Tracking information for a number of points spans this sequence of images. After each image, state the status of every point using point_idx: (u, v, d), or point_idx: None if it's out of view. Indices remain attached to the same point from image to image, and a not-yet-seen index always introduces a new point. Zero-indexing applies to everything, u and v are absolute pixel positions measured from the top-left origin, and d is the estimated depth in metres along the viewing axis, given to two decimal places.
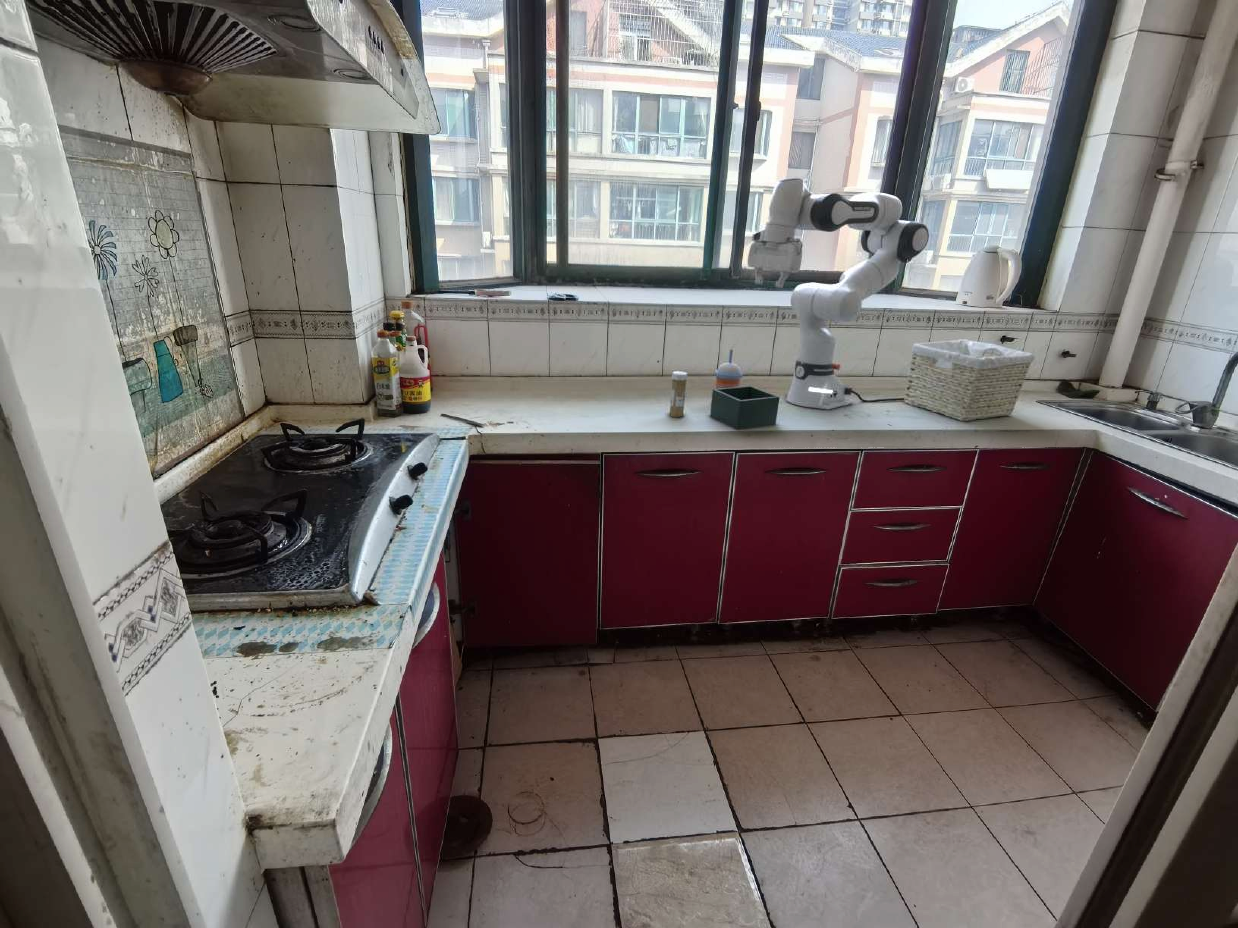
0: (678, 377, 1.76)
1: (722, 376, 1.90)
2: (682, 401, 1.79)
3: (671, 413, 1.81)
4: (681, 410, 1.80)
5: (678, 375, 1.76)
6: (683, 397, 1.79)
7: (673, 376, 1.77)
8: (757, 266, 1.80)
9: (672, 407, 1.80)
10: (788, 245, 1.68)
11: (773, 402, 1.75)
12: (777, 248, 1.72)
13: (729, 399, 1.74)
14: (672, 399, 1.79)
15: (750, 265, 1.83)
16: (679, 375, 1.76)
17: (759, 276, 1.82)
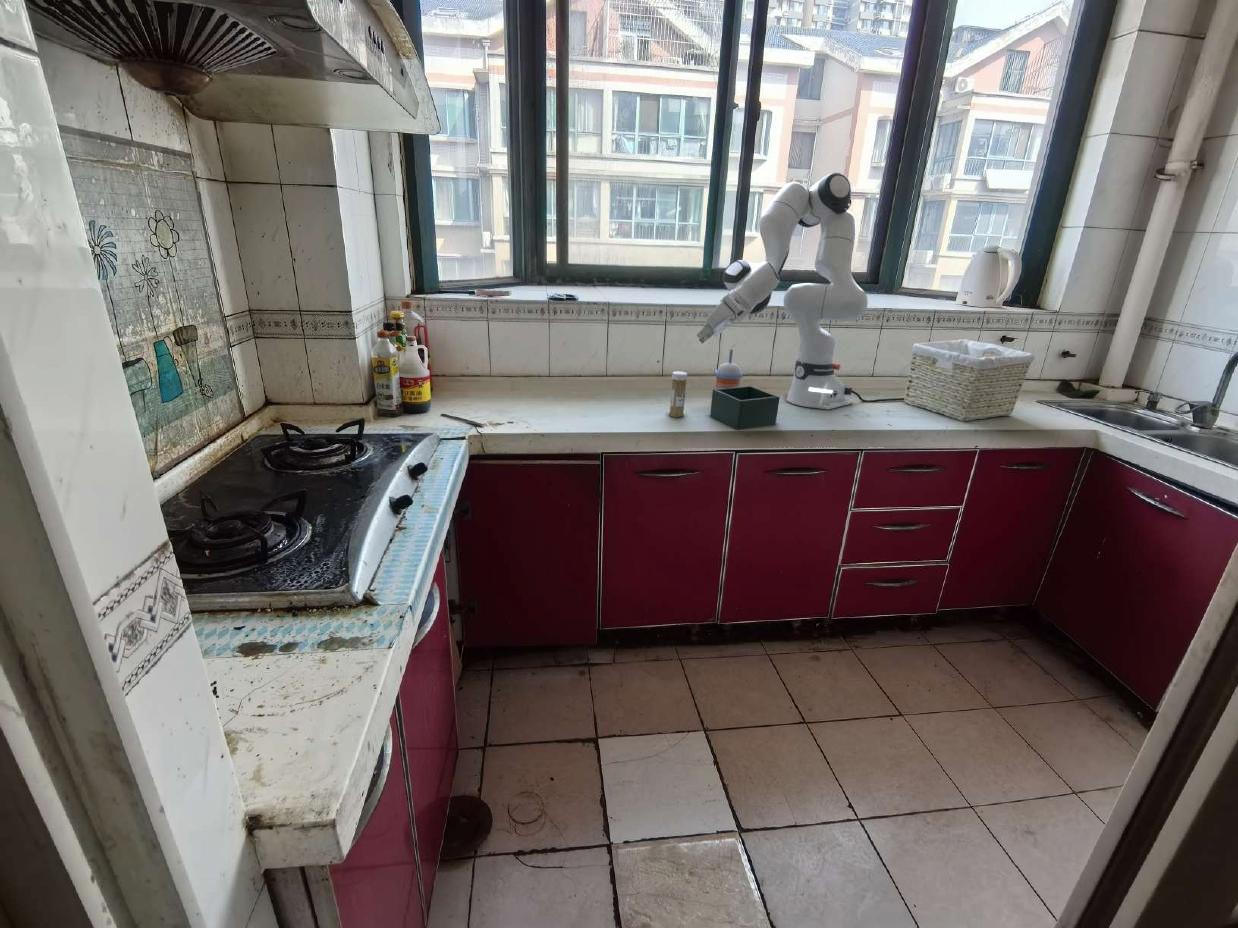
0: (678, 377, 1.76)
1: (722, 376, 1.90)
2: (682, 401, 1.79)
3: (671, 413, 1.81)
4: (681, 410, 1.80)
5: (678, 375, 1.76)
6: (683, 397, 1.79)
7: (673, 376, 1.77)
8: (715, 329, 1.76)
9: (672, 407, 1.80)
10: None
11: (773, 402, 1.75)
12: (729, 321, 1.82)
13: (729, 399, 1.74)
14: (672, 399, 1.79)
15: (715, 328, 1.73)
16: (679, 375, 1.76)
17: None
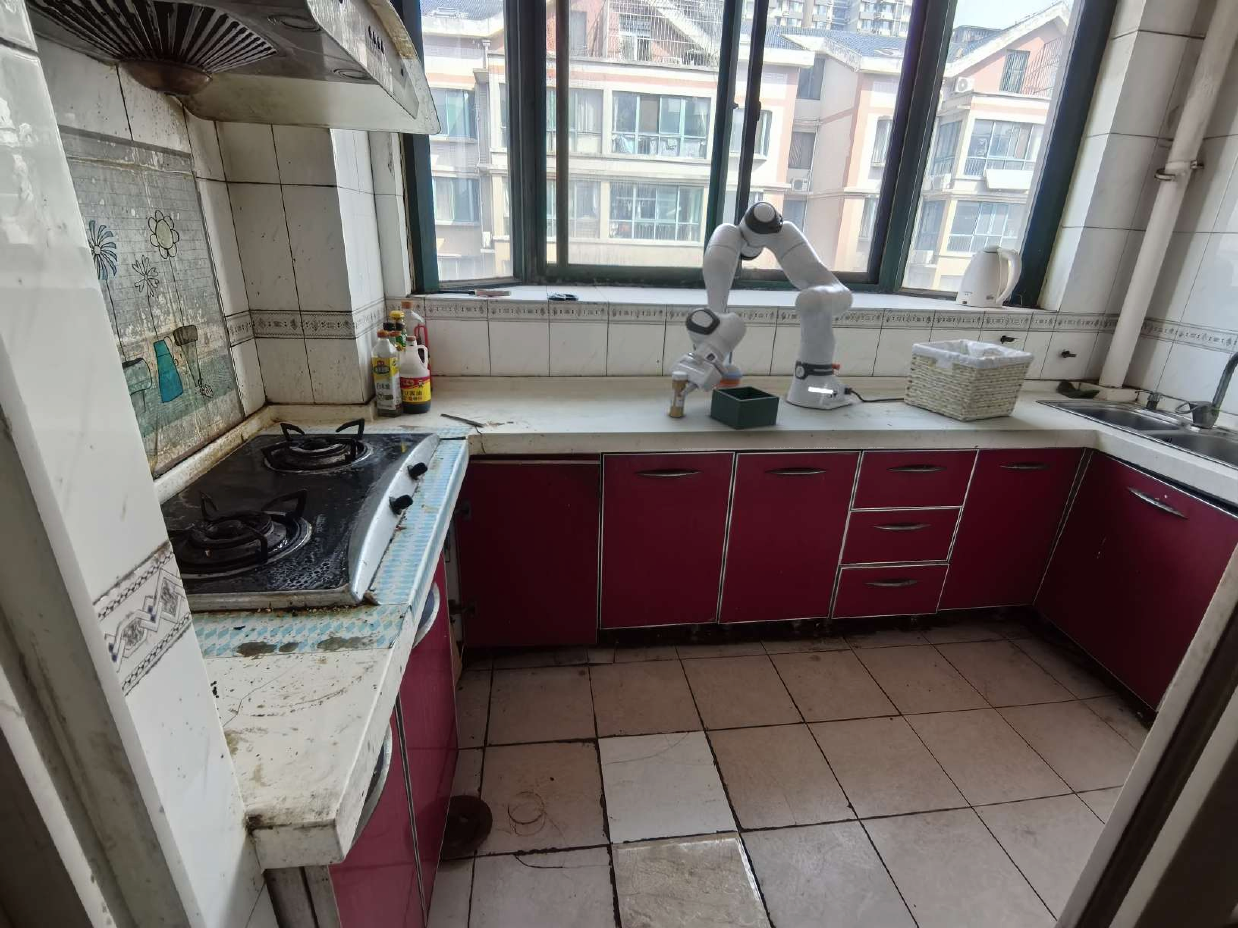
0: (678, 377, 1.76)
1: (722, 376, 1.90)
2: (682, 401, 1.79)
3: (671, 413, 1.81)
4: (681, 410, 1.80)
5: (678, 375, 1.76)
6: (683, 397, 1.79)
7: (673, 376, 1.77)
8: None
9: (672, 407, 1.80)
10: None
11: (773, 402, 1.75)
12: None
13: (729, 399, 1.74)
14: (672, 399, 1.79)
15: None
16: (679, 375, 1.76)
17: None
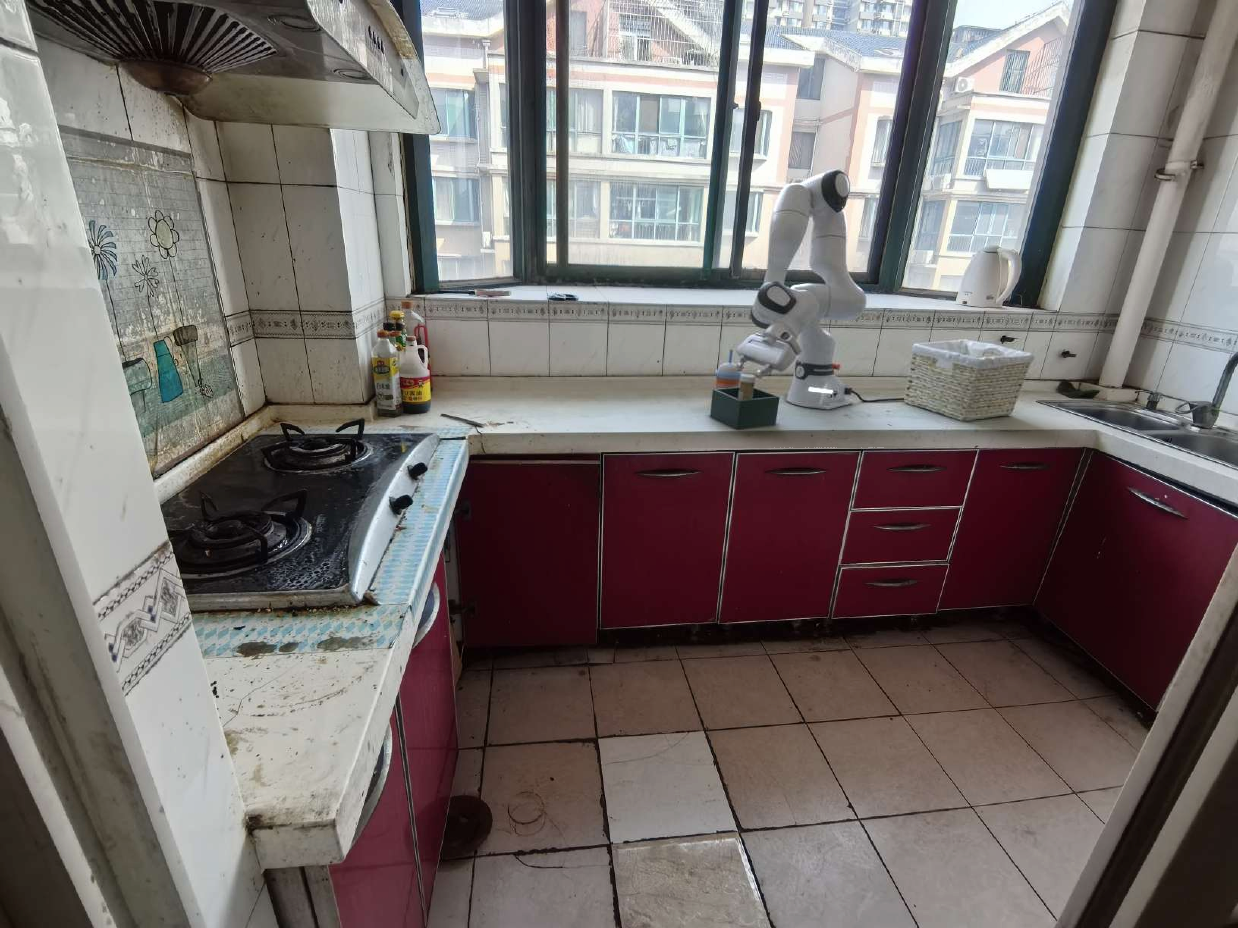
0: (747, 379, 1.74)
1: (722, 376, 1.90)
2: None
3: None
4: None
5: (747, 377, 1.74)
6: None
7: (742, 379, 1.75)
8: None
9: None
10: None
11: (773, 402, 1.75)
12: None
13: (729, 399, 1.74)
14: None
15: None
16: (748, 377, 1.74)
17: None
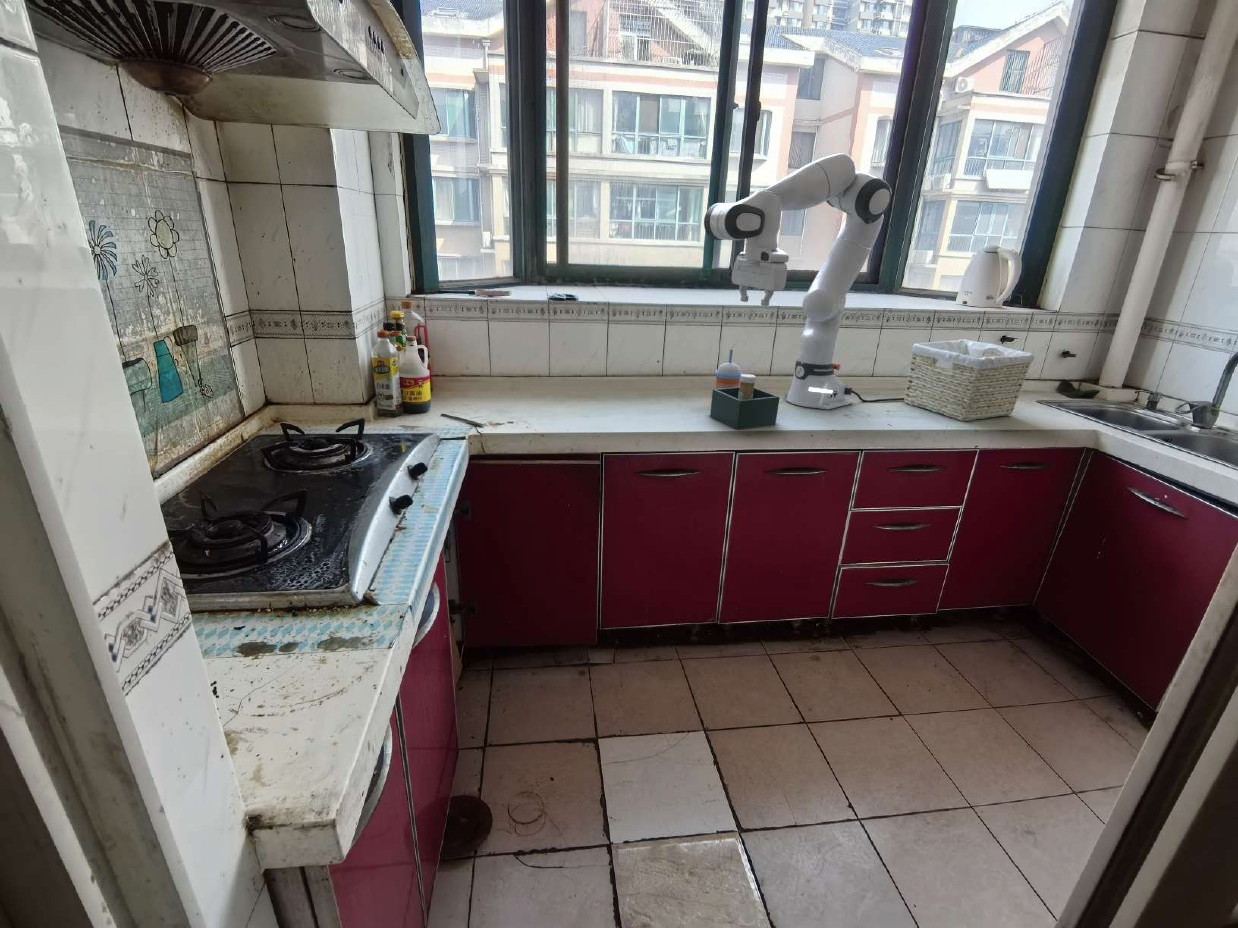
0: (747, 380, 1.74)
1: (722, 376, 1.90)
2: None
3: None
4: None
5: (747, 378, 1.74)
6: None
7: (742, 379, 1.75)
8: None
9: None
10: None
11: (773, 402, 1.75)
12: None
13: (729, 399, 1.74)
14: None
15: None
16: (748, 378, 1.74)
17: None
